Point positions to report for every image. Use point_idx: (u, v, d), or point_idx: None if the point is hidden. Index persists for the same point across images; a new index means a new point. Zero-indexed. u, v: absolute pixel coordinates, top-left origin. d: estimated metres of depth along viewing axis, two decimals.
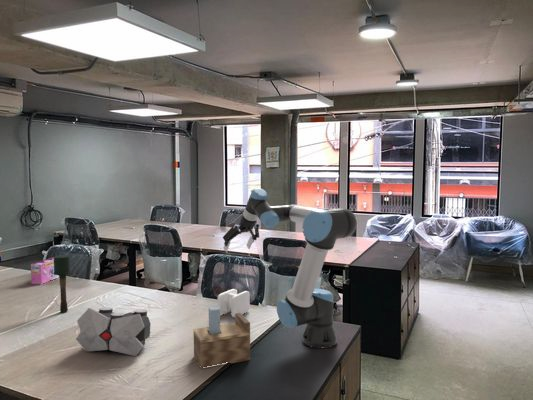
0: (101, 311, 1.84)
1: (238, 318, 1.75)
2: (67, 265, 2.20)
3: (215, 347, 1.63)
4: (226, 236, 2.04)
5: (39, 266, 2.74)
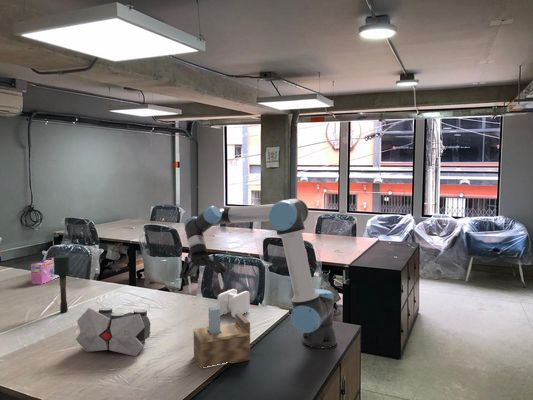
0: (101, 311, 1.84)
1: (238, 318, 1.75)
2: (67, 265, 2.20)
3: (215, 347, 1.63)
4: (181, 271, 1.79)
5: (39, 266, 2.74)
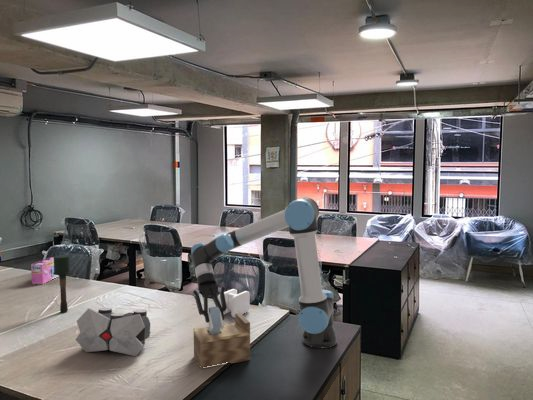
0: (100, 311, 1.84)
1: (238, 318, 1.75)
2: (67, 265, 2.20)
3: (215, 347, 1.63)
4: (198, 308, 1.68)
5: (40, 266, 2.74)
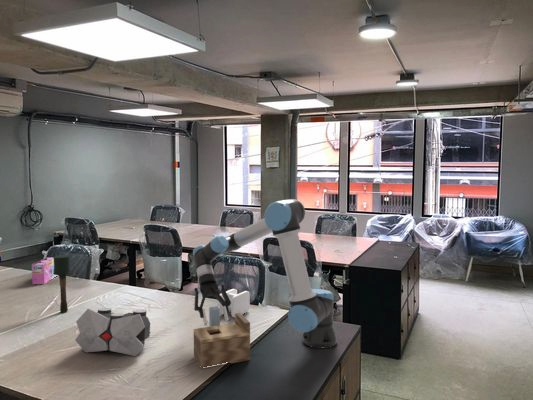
0: (100, 312, 1.84)
1: (238, 318, 1.75)
2: (67, 265, 2.20)
3: (215, 347, 1.63)
4: (195, 304, 1.83)
5: (42, 266, 2.74)
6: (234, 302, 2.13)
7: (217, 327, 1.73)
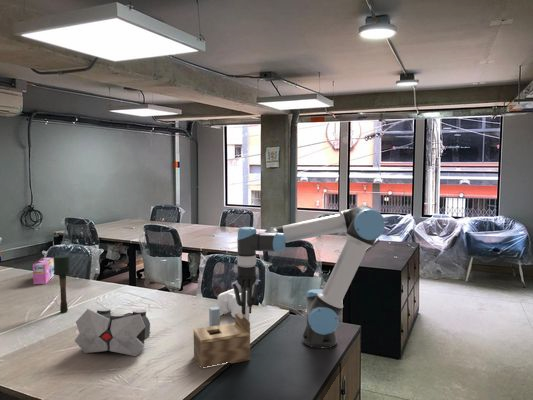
0: (99, 312, 1.83)
1: (238, 318, 1.75)
2: (67, 265, 2.20)
3: (215, 347, 1.63)
4: (237, 300, 1.71)
5: (43, 266, 2.75)
6: (234, 302, 2.13)
7: (217, 327, 1.73)
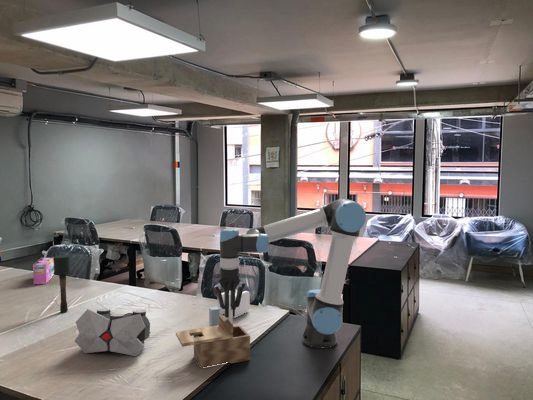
0: (99, 312, 1.83)
1: (221, 321, 1.72)
2: (67, 265, 2.20)
3: (215, 347, 1.63)
4: (220, 303, 1.68)
5: (44, 266, 2.75)
6: None
7: (200, 330, 1.70)
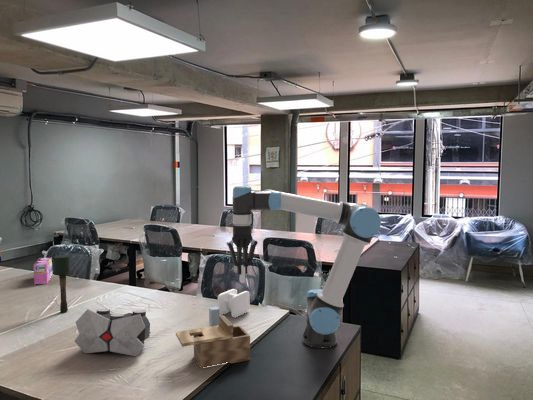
0: (99, 312, 1.83)
1: (221, 321, 1.72)
2: (67, 265, 2.20)
3: (215, 347, 1.63)
4: (233, 260, 1.69)
5: (45, 266, 2.75)
6: (234, 302, 2.13)
7: (200, 330, 1.70)
